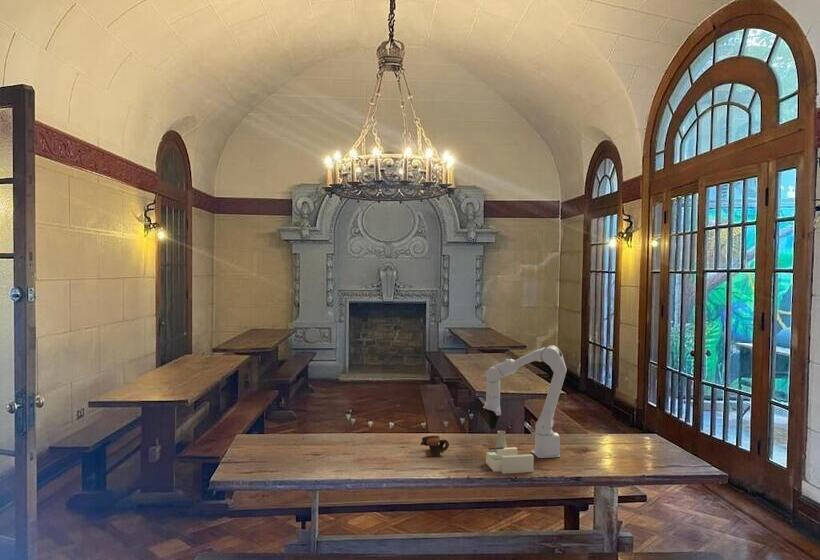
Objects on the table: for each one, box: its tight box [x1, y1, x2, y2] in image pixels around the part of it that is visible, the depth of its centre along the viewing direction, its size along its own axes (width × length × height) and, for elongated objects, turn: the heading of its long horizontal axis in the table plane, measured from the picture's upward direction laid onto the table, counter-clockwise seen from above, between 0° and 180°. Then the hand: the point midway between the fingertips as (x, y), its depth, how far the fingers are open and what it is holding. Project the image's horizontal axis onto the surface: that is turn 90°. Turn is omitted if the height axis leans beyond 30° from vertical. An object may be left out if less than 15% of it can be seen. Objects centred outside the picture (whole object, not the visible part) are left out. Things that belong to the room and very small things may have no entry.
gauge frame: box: [485, 450, 535, 475], centre depth 220 cm, size 14×12×6 cm
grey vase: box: [493, 430, 508, 454], centre depth 232 cm, size 7×7×10 cm
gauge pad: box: [488, 446, 519, 457], centre depth 226 cm, size 12×2×6 cm, turn 102°
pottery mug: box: [419, 435, 450, 458], centre depth 235 cm, size 12×10×8 cm
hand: (492, 428), depth 242 cm, fingers closed
